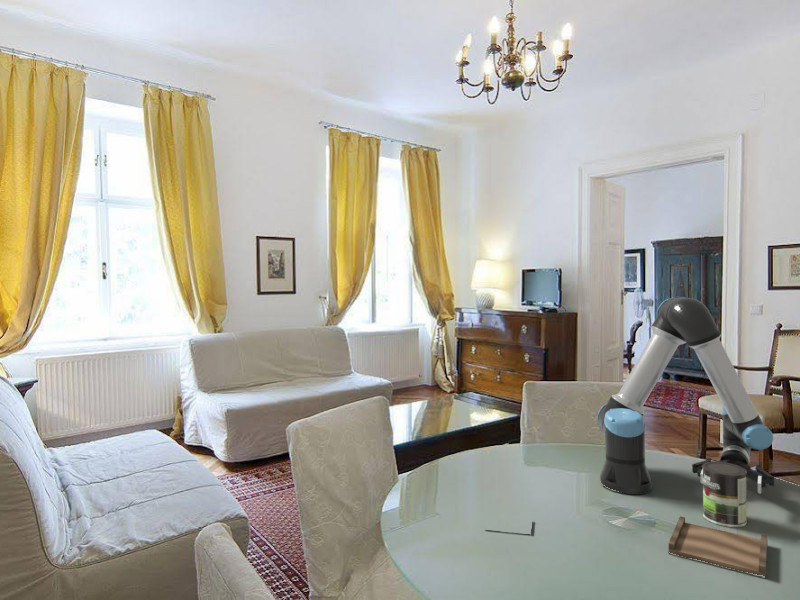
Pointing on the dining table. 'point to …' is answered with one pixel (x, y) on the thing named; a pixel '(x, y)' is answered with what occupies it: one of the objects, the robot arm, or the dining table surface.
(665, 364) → the robot arm
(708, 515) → the coffee can
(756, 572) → the cradle
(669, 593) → the dining table surface
